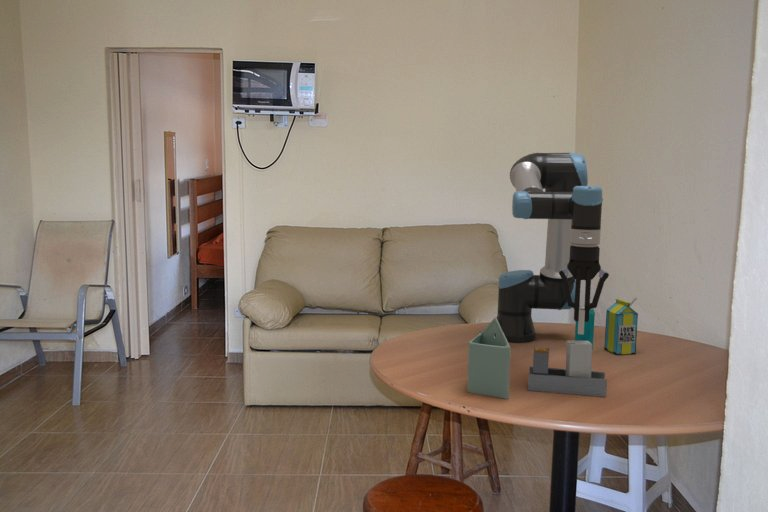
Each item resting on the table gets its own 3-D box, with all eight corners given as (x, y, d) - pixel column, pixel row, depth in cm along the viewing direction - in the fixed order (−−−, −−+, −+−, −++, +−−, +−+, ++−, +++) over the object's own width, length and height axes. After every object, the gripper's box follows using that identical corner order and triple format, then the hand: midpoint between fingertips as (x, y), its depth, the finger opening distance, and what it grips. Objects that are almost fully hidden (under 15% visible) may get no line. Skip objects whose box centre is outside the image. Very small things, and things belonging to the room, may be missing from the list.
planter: (454, 383, 197) (456, 313, 195) (480, 380, 200) (482, 311, 198) (481, 402, 182) (484, 326, 180) (509, 398, 185) (512, 324, 182)
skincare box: (586, 383, 194) (589, 340, 193) (591, 388, 190) (593, 344, 188) (564, 383, 195) (566, 339, 193) (568, 388, 190) (570, 343, 189)
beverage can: (585, 350, 234) (588, 305, 232) (596, 354, 229) (598, 308, 227) (570, 351, 232) (572, 306, 230) (580, 356, 227) (583, 309, 225)
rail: (529, 382, 199) (530, 344, 198) (603, 388, 194) (606, 349, 193) (528, 390, 192) (529, 351, 190) (605, 396, 187) (608, 357, 186)
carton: (638, 354, 230) (641, 298, 227) (616, 355, 228) (619, 299, 226) (625, 348, 237) (628, 294, 235) (604, 349, 235) (607, 295, 233)
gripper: (559, 245, 185) (555, 334, 188) (612, 247, 182) (607, 338, 185) (559, 242, 192) (555, 328, 195) (609, 244, 189) (605, 331, 192)
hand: (580, 333), depth 190 cm, fingers closed
